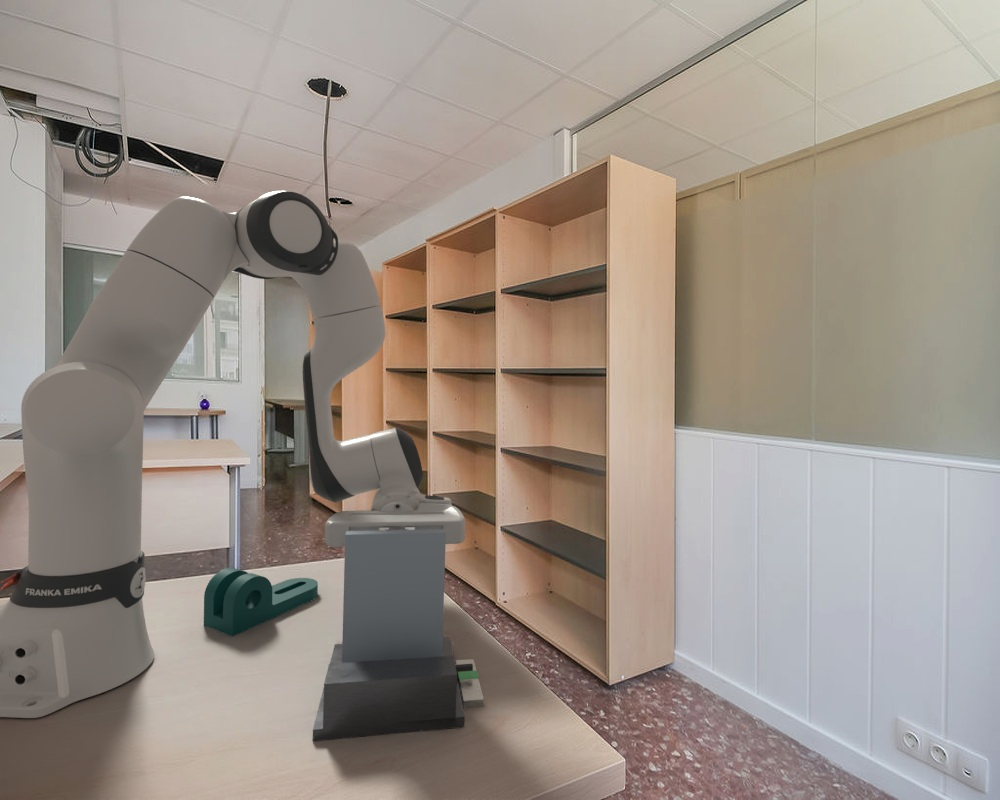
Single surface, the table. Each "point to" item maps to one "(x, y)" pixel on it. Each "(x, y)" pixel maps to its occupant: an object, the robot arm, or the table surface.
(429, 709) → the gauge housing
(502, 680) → the table surface
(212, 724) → the table surface
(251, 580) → the bracket
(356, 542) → the grey upright panel
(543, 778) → the table surface
